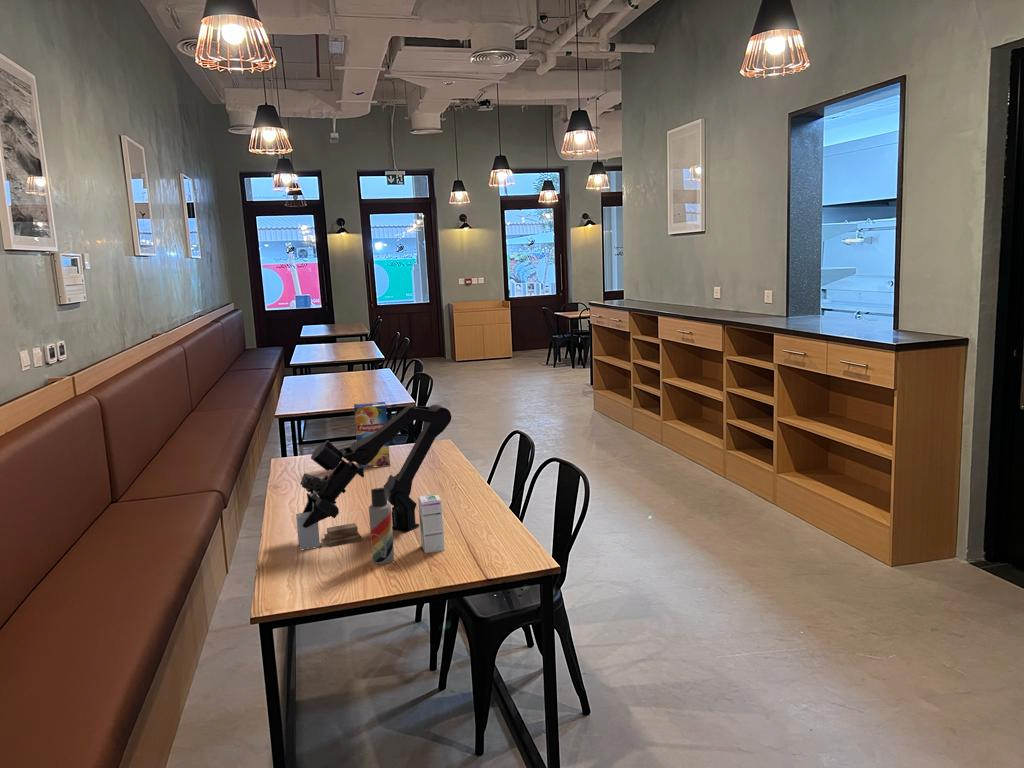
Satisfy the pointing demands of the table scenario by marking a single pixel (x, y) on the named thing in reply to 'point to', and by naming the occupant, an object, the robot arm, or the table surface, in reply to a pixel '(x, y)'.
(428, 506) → the syrup box
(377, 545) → the lotion bottle
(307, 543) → the slate post
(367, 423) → the juice carton
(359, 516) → the table surface
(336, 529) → the walnut ridge
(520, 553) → the table surface
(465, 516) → the table surface
